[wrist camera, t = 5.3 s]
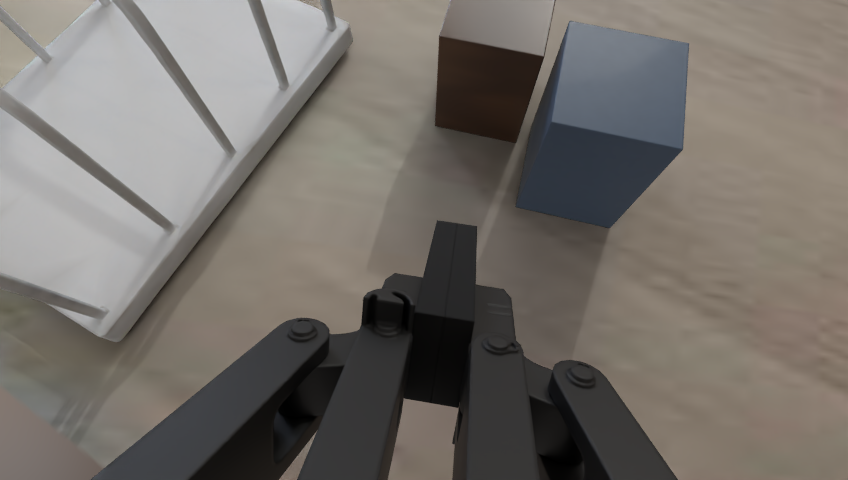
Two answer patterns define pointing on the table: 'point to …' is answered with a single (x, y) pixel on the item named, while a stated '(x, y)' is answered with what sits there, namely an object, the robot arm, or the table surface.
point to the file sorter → (143, 140)
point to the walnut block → (490, 64)
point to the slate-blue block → (604, 123)
